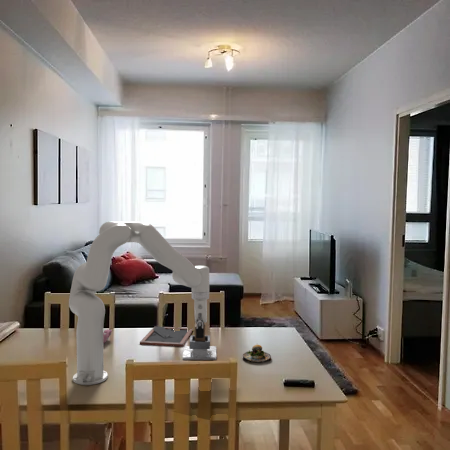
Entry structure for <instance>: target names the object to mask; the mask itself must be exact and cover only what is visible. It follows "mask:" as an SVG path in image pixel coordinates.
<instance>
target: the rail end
mask: <svg viewBox="0 0 450 450" xmlns="http://www.w3.org/2000/svg"><path fill="white" fill-rule="evenodd" d="M196 328H197V323H195V324H194V335H195V341H205V335H206V323H204V324H203V328H204V338H196Z"/></svg>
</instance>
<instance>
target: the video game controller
mask: <svg viewBox="0 0 450 450" xmlns="http://www.w3.org/2000/svg"><path fill="white" fill-rule="evenodd" d="M112 332H113V330H111V329H105V330H103V345H105V344H106V342H107V341H109V339H110V336H111V335H112Z"/></svg>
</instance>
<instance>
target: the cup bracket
mask: <svg viewBox="0 0 450 450" xmlns="http://www.w3.org/2000/svg"><path fill="white" fill-rule="evenodd" d="M182 360H183V361H185V360H186V361H187V360H189V361H190V360H194V361H195V360H196V361H197V360H199V361H200V360H207V361H208V360H212V361H213V360H215V361H216V360H217V345H211V335H206V334H205V341H195V334H194V335H192V334H191V335H190V337H189V345H184V346H183V353H182Z"/></svg>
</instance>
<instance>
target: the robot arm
mask: <svg viewBox="0 0 450 450" xmlns="http://www.w3.org/2000/svg"><path fill="white" fill-rule="evenodd" d="M127 243H135V244H139V245H140V246H141V247H142V248H143V249H144V250H145V251H146V252H147V253H148V254H149V255H150V256H151V257H152V258H153V260H154V261H156V262H157V263H159V264H160V265H162V266H164V267H166V268H167V269H169V270H171V271H172V275H171V276H172V279H173V281H174V282H175V283H177V284H178V285H181V286H185V287H188V288H191V299H192V300H194V301H193V302H194V306H193V307H194V308H193V309H194V322H195V324H197V328H196V338H204V328H203V324H206V323H207V321H208V300H209V299H210V267H209V266H206V265H194V264H193V263H192V262H191V261H190V260H189V259H188V258H187V257H186V256H184V255H183V254H182V253H180V251H179V250H177V249H176V248H175V247H173V246H172V245H171V244H170V243H169V241H168V240H167V239H166V238H165V237H164V236H163V235H162V234H161V232H159V231H158V229H156V228H155V227H154V226H153V225H152V224H151V223H148V222H141V221H116V220H115V221H111V220H110V221H105V222H104V223H102V224H101V226H100V227H99V231H98V236H96V237H95V239H94V240H93V241H92V243H91V244H90V247H89V250H88V253H87V254H88V256H87V258H86V262H83V263H81V264H80V265H79V266H77V268H76V269H75V271H74V273H73V277H72V281H71V288H70V292H69V293H70V294H69V299H68V306H69V309H70V311H71V312H72V313H73V314H75V315H76V316H77V323H76V331H75V332H76V337H75V339H76V373H75V374H73V376H72V381H73V383H75V384H77V385H80V386H93V385H97V384H100V383H104V381H106V380H107V379H108V377H109V373H108V372H107V371H105V370H104V366H105V365H104V343H103V332H104V323H105V314H106V307H105V304H104V302H103V299H101V298H100V297H99V296H98V295H96V294H95V293H96V292H100V291H103V289H104V288H105V287H106V285H107V283H108V279H109V278H108V277H109V272H110V266H111V262H112V257H113V255H114V253H115V251H116V250H117V249H119V248H120V247H121V246H123V245H125V244H127Z"/></svg>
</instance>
